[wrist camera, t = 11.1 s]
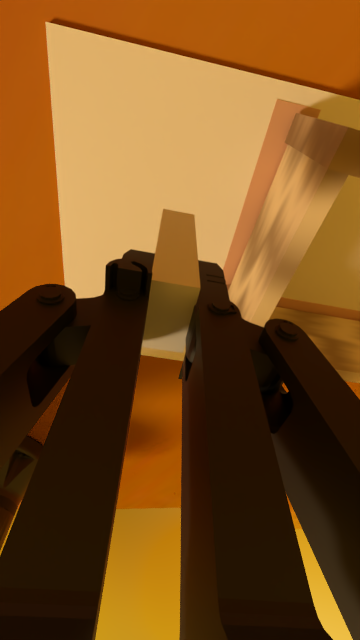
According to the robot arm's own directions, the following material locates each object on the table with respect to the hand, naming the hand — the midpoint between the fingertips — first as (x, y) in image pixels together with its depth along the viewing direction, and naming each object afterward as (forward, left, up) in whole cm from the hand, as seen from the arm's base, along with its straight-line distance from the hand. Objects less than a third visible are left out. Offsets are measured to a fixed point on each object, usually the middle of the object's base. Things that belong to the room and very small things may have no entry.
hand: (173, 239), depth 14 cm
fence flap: (-2, -8, -11) cm, 14 cm away
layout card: (-7, -7, -12) cm, 16 cm away
